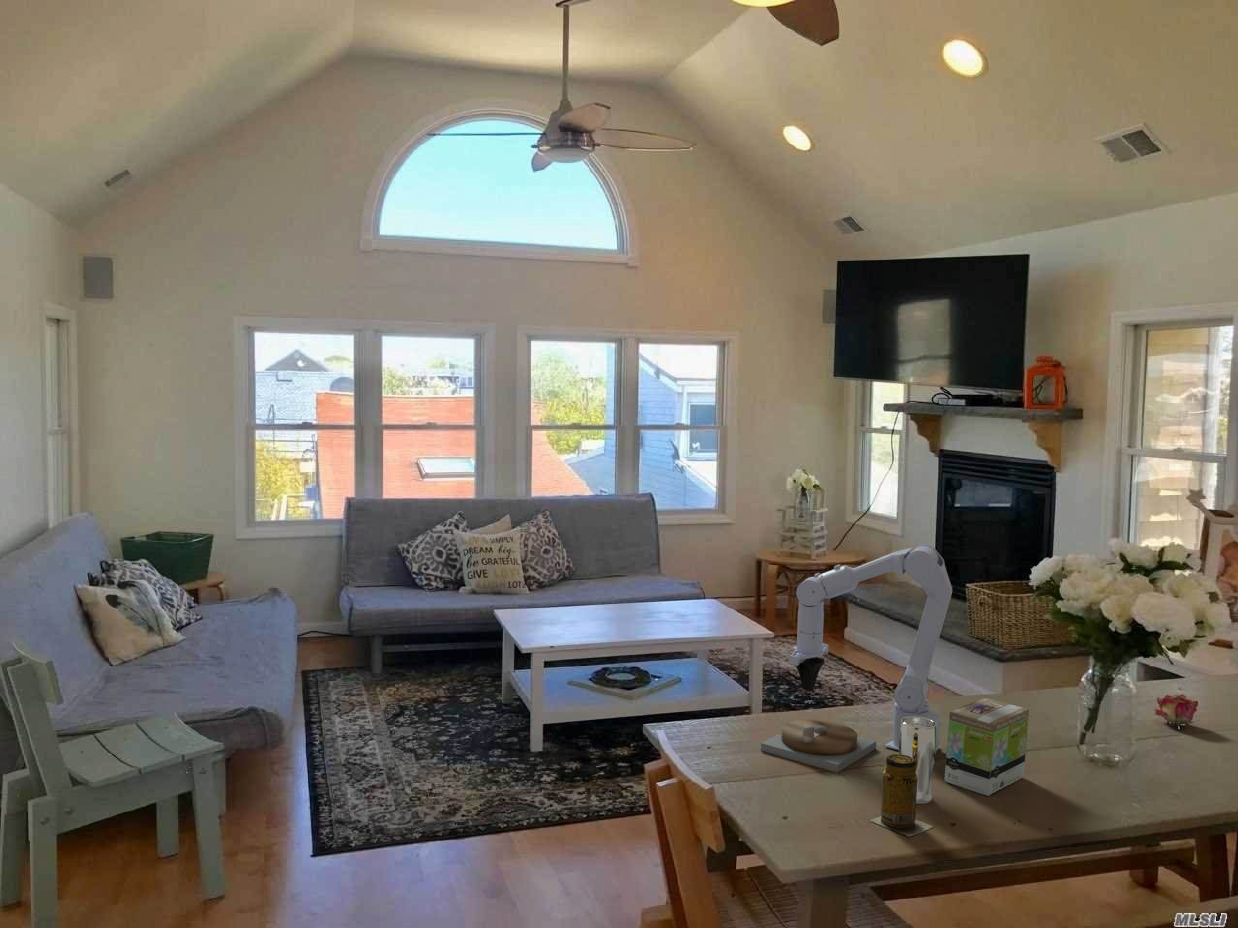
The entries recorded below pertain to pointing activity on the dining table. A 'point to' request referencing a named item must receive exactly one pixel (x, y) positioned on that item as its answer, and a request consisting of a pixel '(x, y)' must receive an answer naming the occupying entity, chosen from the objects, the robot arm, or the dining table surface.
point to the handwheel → (819, 737)
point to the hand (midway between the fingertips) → (807, 689)
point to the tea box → (986, 745)
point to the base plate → (821, 761)
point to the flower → (1176, 709)
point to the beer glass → (920, 751)
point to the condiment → (900, 796)
